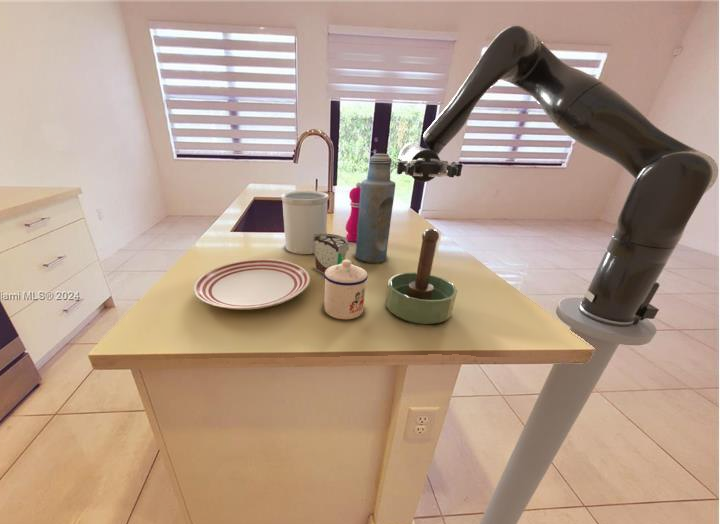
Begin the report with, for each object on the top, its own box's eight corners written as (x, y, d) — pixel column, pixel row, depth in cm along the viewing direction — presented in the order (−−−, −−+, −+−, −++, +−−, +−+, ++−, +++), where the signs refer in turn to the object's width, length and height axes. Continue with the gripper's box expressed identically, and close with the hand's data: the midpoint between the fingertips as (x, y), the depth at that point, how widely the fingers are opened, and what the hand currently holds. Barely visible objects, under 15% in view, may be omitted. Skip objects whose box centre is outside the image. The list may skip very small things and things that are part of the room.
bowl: (444, 297, 76) (449, 275, 73) (457, 330, 63) (464, 304, 61) (384, 292, 78) (387, 270, 75) (386, 323, 65) (389, 297, 62)
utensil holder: (295, 258, 97) (294, 200, 89) (276, 244, 109) (273, 192, 100) (335, 251, 104) (337, 196, 96) (313, 238, 115) (314, 189, 107)
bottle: (371, 265, 93) (383, 155, 79) (348, 256, 100) (356, 152, 86) (392, 259, 98) (407, 154, 84) (369, 250, 105) (379, 152, 91)
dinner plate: (183, 324, 63) (180, 310, 62) (205, 271, 87) (203, 259, 86) (317, 315, 67) (317, 301, 66) (303, 266, 91) (303, 256, 90)
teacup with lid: (356, 324, 64) (360, 272, 59) (316, 314, 68) (317, 264, 62) (372, 300, 74) (377, 253, 69) (337, 292, 77) (339, 247, 72)
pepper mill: (366, 238, 117) (372, 181, 108) (361, 243, 111) (366, 184, 102) (348, 235, 120) (352, 180, 111) (342, 240, 114) (345, 182, 105)
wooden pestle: (427, 301, 72) (443, 226, 64) (431, 313, 68) (448, 233, 59) (404, 299, 73) (417, 224, 65) (406, 310, 68) (420, 231, 60)
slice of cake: (356, 277, 85) (359, 242, 81) (338, 282, 82) (340, 246, 77) (329, 263, 94) (330, 230, 89) (312, 267, 91) (312, 234, 86)
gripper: (396, 148, 81) (401, 151, 66) (454, 149, 79) (471, 153, 65) (393, 178, 84) (396, 188, 70) (448, 181, 82) (463, 191, 68)
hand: (432, 171), depth 67 cm, fingers open, 8 cm apart
